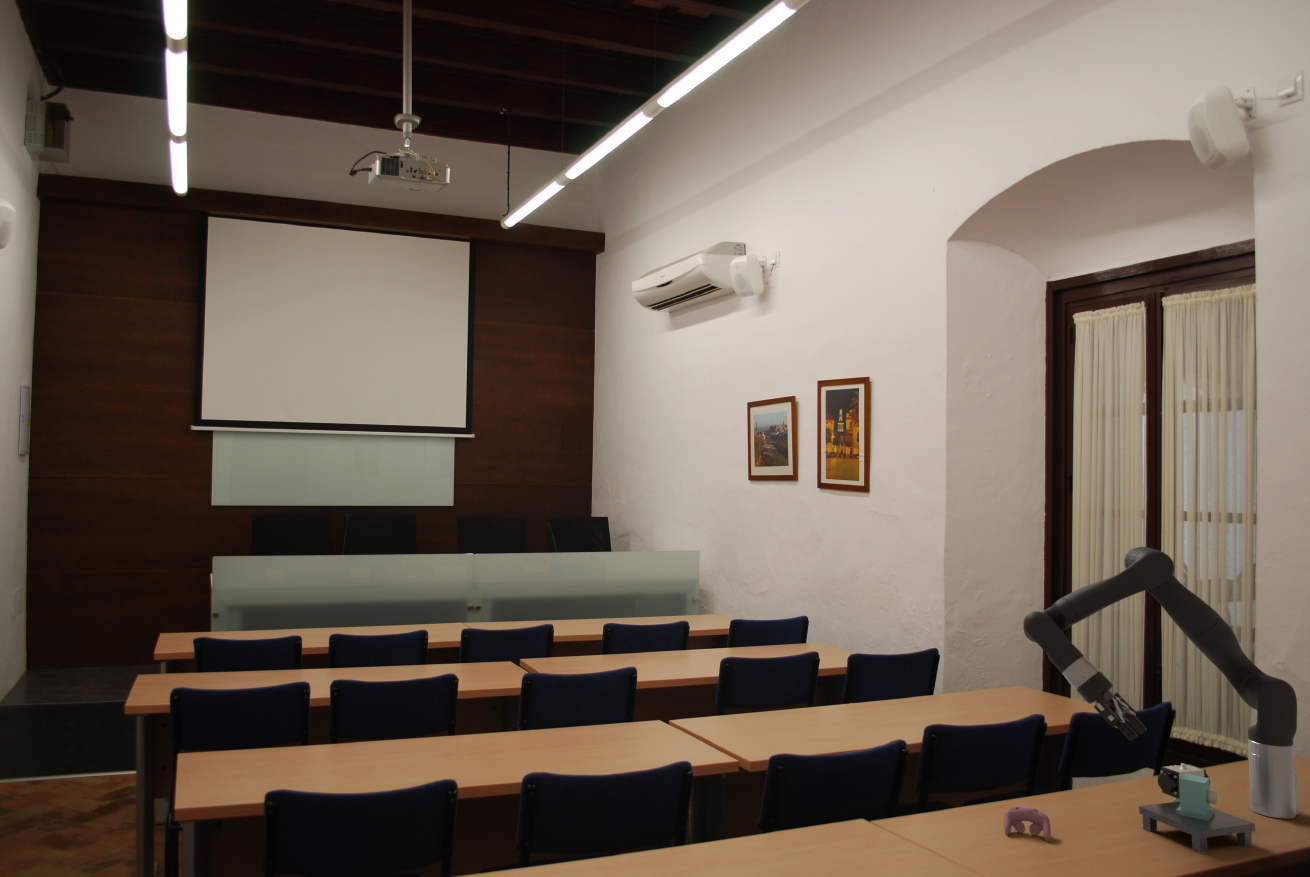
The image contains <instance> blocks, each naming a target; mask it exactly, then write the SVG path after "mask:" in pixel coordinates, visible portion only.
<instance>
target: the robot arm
mask: <svg viewBox="0 0 1310 877" xmlns="http://www.w3.org/2000/svg"><path fill="white" fill-rule="evenodd" d="M1124 568H1125V569H1124V570H1122V571H1120V572H1119V573H1117V574H1115V575H1113V576H1110V577H1107V578H1105V579H1103V580H1100V581H1096V582H1094V583H1090V584H1087V585H1084V586H1082V587H1080V588H1077V589H1076V590H1074V591H1071V592H1070V593H1068V594H1066V595H1064V596H1062V597H1061V598H1058V600H1056V601H1055V602H1054V603H1053V604H1052V605H1051V606H1050V607H1048V608H1046V609H1045V610H1043V611H1031V612H1029V613H1027V614H1026V616H1025V617H1024V619H1023V627H1022V628H1023V633H1024V635H1025V637H1026V638H1027V639H1028V640H1029V641H1031V642H1033V643H1036V644H1037V645H1038V646H1039V647H1040V648H1041V649H1042V650H1043V651H1044V652H1045V653H1046V655H1047V657H1048V660H1049V661H1050V662H1051V663H1052V664H1053V666H1054V667H1055V668H1057V670H1058V671H1059V672H1060V673H1061V674H1062V675H1063V676H1064V678H1065V679H1066V680H1067V682H1068V684H1070V685H1071V687H1073V688H1074V690H1075V691H1076V692H1077V693H1078V694H1079V695H1080V696H1081V697H1082V698H1083V699H1084V701H1085V702H1086V703H1087V704H1090V705H1091V704H1093V703H1095V702H1096V703H1095V705H1094V706H1093V708H1094V710H1096V712H1098V714H1099V715H1100V716H1101V717H1102V718H1103V720H1105V721H1106V723H1107V724H1108V725H1109V726H1110V727H1111V728H1115V729H1118V730H1119V731H1120V732H1121V733H1122V734H1123V735H1124V736H1125V737H1126V738H1127V740H1128V741H1130V742H1133V740H1135V739H1136V738H1137V737H1138V735H1143V733H1145V732H1146V731H1147V730H1148V729H1147V726H1145V725H1144V724H1143V723H1142V721H1141V720H1140V719H1139V718H1138V717H1137V716H1136V712H1137V711H1136V710H1135V708H1133V707H1132V705H1130V704H1129V703H1128V702H1127V701H1126V699H1125V698H1123V696H1122V695H1121V694H1120V693H1118V692H1115V693H1114V694H1113V693H1112V692H1111V691H1110V690H1112V689H1113V687H1114V684H1113V683H1112V682H1111V681H1110V680H1109V679H1108V678H1107V677H1106V676H1105V674H1104V673H1103V672H1102V671H1101V670H1100V669H1099V668H1098V667H1097V666H1096V665H1095V664H1094V663H1093V662H1092V661H1091V660H1089V659H1088V658H1087V657H1086V656H1085V655H1084V654H1083V653H1082V652H1081V650H1080V649H1078V648H1077V647H1076V645H1074V644H1073V643H1072V642H1071V641H1070V640H1069V639H1068V637H1067V636H1066V634H1064V632H1063V631H1065V630H1066V629H1068V628H1069V627H1071V626H1073V625H1075V624H1077V623H1079V622H1081V621H1084V620H1085V619H1086V618H1088V617H1091V616H1092V615H1093V614H1096V613H1097V612H1099V611H1102V610H1104V609H1105V608H1107V607H1109V606H1111V605H1113V604H1115V603H1118V602H1119V601H1122V600H1124V599H1127V598H1129V597H1131V596H1133V595H1137V594H1139V593H1142V592H1145V591H1146V592H1147V593H1148V594H1150V595H1151V596H1152V597H1153V598H1154V599H1155V600H1156V601H1157V602H1158V603H1159V604H1160V606H1161V607H1162V608H1163V610H1164V611H1165V613H1167V615H1168V616H1169V617H1170V619H1171V620H1172V621H1173V622H1174V623H1175V624H1176V626H1177V627H1178V628H1179V629H1180V630H1181V631H1182V633H1183V634H1184V635H1185V636H1186V637H1187V638H1188V639H1189V640H1190V641H1191V642H1192V644H1193V645H1195V647H1197V649H1198V650H1199V651H1200V652H1201V653H1203V655H1204V656H1205V657H1206V659H1207V660H1209V661H1210V662H1211V663H1212V664H1213V665H1214V666H1215V667H1216V668H1217V669H1218V670H1219V671H1220V672H1221V673H1222V674H1223V675H1224V677H1225V678H1226V679H1227V681H1228V682H1229V683H1230V684H1231V686H1232V687H1233V689H1234V690H1235V692H1236V693H1237V694H1238V695H1239V697H1240V698H1241V700H1243V702H1244V703H1245V704H1246V705H1247V706H1249V707H1250V708H1251V709H1254V710H1256V711H1257V712H1256V723H1255V724H1254V725H1250V726H1249V727H1248V729H1247V738H1248V739H1247V741H1248V742H1247V744H1248V746H1247V748H1248V770H1249V771H1248V772H1249V776H1248V777H1249V799H1250V800H1249V801H1250V803H1249V804H1250V805H1249V806H1250V810H1251V811H1252V812H1254V813H1256V814H1259V815H1261V816H1266V817H1270V818H1276V819H1284V820H1285V819H1295V818H1296V816H1297V815H1299V798H1298V796H1299V795H1298V794H1299V792H1298V790H1299V789H1298V776H1297V774H1295V758H1294V757H1295V756H1294V755H1295V754H1294V738H1295V736H1296V734H1297V728H1298V725H1297V724H1298V699H1297V695H1296V691H1295V689H1294V687H1293V686H1292V685H1291V684H1290V683H1289V682H1288V681H1285V680H1284V679H1281V678H1279V677H1275V676H1272V675H1268V674H1267V673H1265V672H1263V670H1261V669H1260V668H1259V667H1258V666H1257V665H1255V664H1254V662H1253V661H1251V660H1250V658H1249V657H1248V656H1247V655H1246V654H1245V653H1244V651H1243V650H1242V648H1241V646H1240V644H1239V640H1238V638H1237V635H1236V634H1235V632H1234V631H1233V629H1232V628H1231V627H1230V626H1229V624H1228V623H1227V622H1226V620H1224V618H1222V617H1221V615H1220V614H1219V613H1218V612H1217V611H1216V610H1215V609H1214V608H1212V606H1210V605H1209V604H1208V603H1207V602H1205V601H1204V600H1203V599H1201V598H1200V597H1199V596H1198V595H1196V594H1195V593H1194V592H1192V591H1191V590H1189V589H1188V588H1187V586H1185V585H1184V584H1182V583H1181V582H1180V581H1179V580H1178V578H1176V576H1175V575H1174V573H1175V563H1174V561H1173V559H1172V558H1171V557H1170V556H1169V555H1168V554H1167V553H1166V552H1163V551H1162V550H1158V549H1157V548H1155V549H1154V548H1153V547H1147V546H1138V547H1134V548H1131V549H1130V550H1129V551H1128V552H1127V553H1126V554H1125V557H1124ZM1126 721H1127V722H1126ZM1132 728H1133V729H1132ZM1136 732H1137V733H1138V734H1137V733H1136Z"/></svg>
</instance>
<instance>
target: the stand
mask: <svg viewBox="0 0 1310 877" xmlns="http://www.w3.org/2000/svg"><path fill="white" fill-rule="evenodd" d="M1179 806H1180V801H1179V802H1174V801H1172V802H1164V803H1163V802H1162V803H1155V804H1147V805H1145V804H1144V805H1139V806H1138V808H1139V809H1138V812H1139V814H1140V815H1142V829H1143V830H1145V831H1147V832H1158V822H1160V823H1162V824H1165V825H1167V826H1169V827H1172V828H1174V829H1177V830H1178V831H1181V832H1184V833H1186V834H1189V835H1191V845H1192V846H1191V850H1192V851H1193V852H1196V851H1197V852H1196V853H1198V852H1199V854H1203V853H1202V852H1207V853H1208V838H1213V837H1220V836H1221V837H1222V836H1227V835H1228V836H1229V835H1236V838H1235V839H1236V844H1237V845H1239V846H1242V847H1244V848H1247V847H1248V848H1249V847H1253V845H1252V844H1253V842H1252V841H1253V840H1252V832H1255V831H1256V823H1255V822H1251V821H1249V820H1247V819H1244V818H1241V817H1238V816H1236V815H1233V814H1231V813H1228V812H1224V811H1223V810H1219V809H1217V808H1214V807H1211V806H1210V809H1214V810H1215V814H1214V815H1213V817H1212V818H1211V819H1210V820H1209V821H1205V820H1201V819H1196V818H1192V817H1187V816H1183V815H1178V814H1176V809H1177V808H1178V807H1179Z"/></svg>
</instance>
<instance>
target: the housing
mask: <svg viewBox="0 0 1310 877" xmlns="http://www.w3.org/2000/svg"><path fill="white" fill-rule="evenodd" d="M1209 779H1210V777H1209V778H1205V777H1200V776H1195V775H1190V774H1184V775H1182V776H1181V777H1180V806H1179V807H1178V808H1177V809H1176V814H1178V815H1183V816H1187V817H1192V818H1196V819H1201V820H1205V821H1209V820H1210V819H1211V818H1212V817H1213V815H1214V814H1215V810H1214V809H1215V808H1214V809H1210V807H1211V804H1212V805H1216V804H1217V802H1218V801H1217V800H1218V795H1217V794H1218V793H1217V792H1216V791H1212V790H1211V788H1210V786H1211V782H1210V783H1209Z"/></svg>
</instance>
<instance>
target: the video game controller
mask: <svg viewBox="0 0 1310 877" xmlns="http://www.w3.org/2000/svg"><path fill="white" fill-rule="evenodd" d="M1024 822H1030V823H1031V824H1030V826H1029V832H1030V834H1031V835H1032V834H1033V835H1032V836H1035V835H1037V836H1039V835H1040V833H1041V832H1043V837H1044V840H1045V842H1047V841H1048V842H1049V841H1050V840H1051V834H1052V833H1051V822H1050V818H1049V817H1048V816H1047V814H1046V813H1044V812H1043V811H1041V810H1039V809H1035V808H1033V807H1027V806H1017V807H1016V806H1015V807H1010V808H1008V810H1006V812H1005V813H1004V818H1003V830H1004V834H1005V835H1006V836H1007V835H1008V836H1009V835H1010V834H1011V832H1012V828H1014V830H1015V831H1017V833H1018V832H1019V833H1018V834H1023V833H1025V831H1026V826H1025V823H1024Z"/></svg>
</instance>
